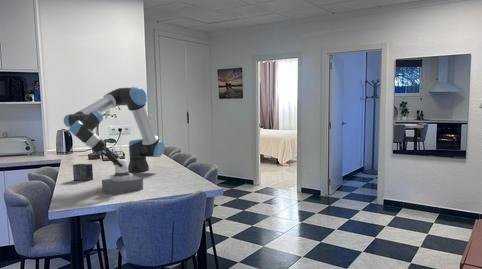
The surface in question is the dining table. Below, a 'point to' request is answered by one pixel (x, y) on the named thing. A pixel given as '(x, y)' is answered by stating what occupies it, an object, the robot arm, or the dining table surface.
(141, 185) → the octagonal socket base
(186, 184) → the dining table surface
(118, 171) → the white glossy rounded part
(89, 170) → the small box
